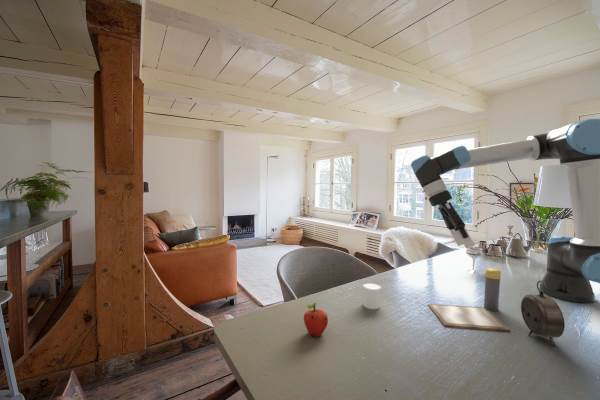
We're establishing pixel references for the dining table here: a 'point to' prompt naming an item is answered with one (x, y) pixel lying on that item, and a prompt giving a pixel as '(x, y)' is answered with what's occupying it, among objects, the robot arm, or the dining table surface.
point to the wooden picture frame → (467, 317)
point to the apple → (315, 321)
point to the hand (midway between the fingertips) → (465, 245)
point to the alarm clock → (542, 315)
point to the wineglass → (474, 255)
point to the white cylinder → (371, 295)
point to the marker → (492, 289)
